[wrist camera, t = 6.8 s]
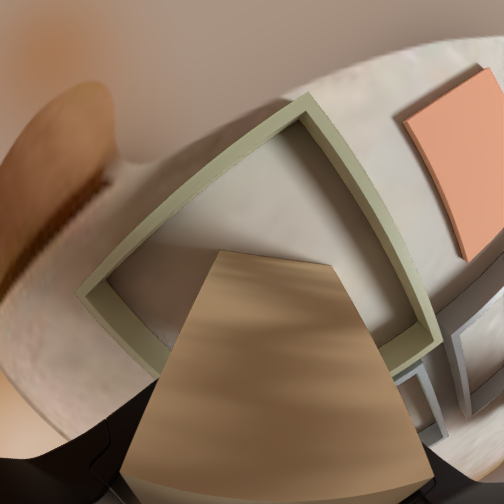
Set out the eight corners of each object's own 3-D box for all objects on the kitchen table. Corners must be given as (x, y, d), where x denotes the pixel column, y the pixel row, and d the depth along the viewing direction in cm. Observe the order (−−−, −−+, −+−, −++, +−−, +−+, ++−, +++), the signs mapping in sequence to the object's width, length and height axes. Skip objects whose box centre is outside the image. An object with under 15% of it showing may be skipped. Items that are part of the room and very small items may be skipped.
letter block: (331, 265, 12) (435, 480, 2) (307, 353, 14) (334, 540, 4) (220, 250, 12) (117, 477, 2) (211, 341, 14) (161, 531, 4)
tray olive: (427, 321, 13) (443, 341, 11) (245, 421, 16) (243, 444, 14) (300, 103, 10) (308, 91, 8) (94, 277, 13) (74, 293, 11)
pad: (530, 187, 10) (535, 189, 9) (463, 259, 11) (468, 262, 11) (484, 68, 8) (489, 67, 7) (401, 122, 10) (407, 120, 9)
